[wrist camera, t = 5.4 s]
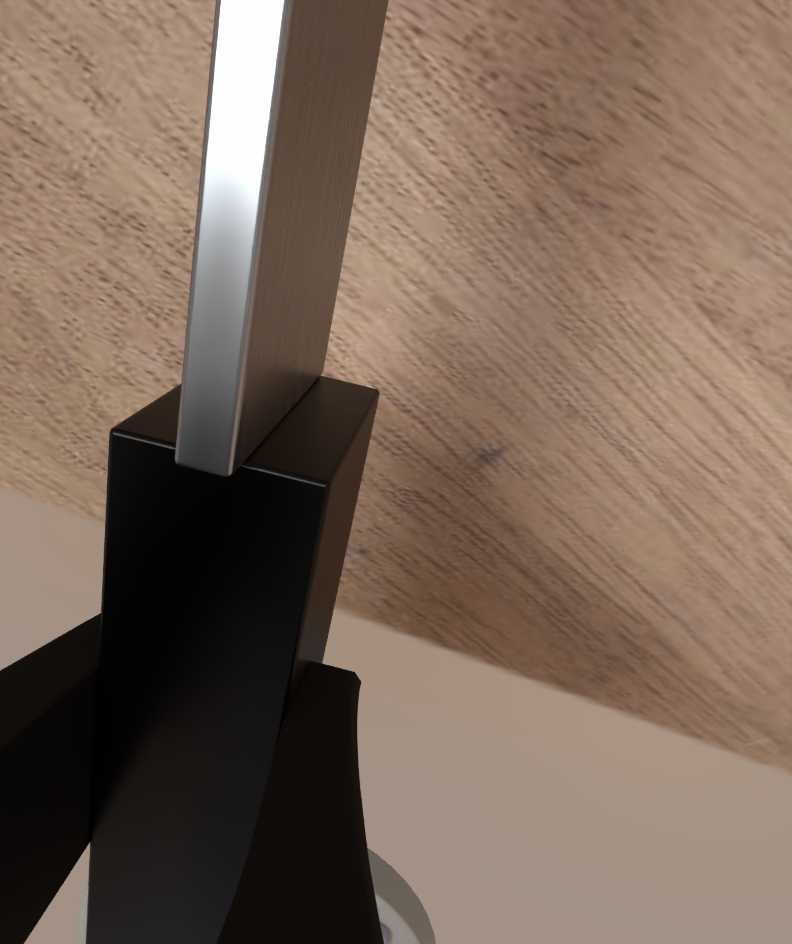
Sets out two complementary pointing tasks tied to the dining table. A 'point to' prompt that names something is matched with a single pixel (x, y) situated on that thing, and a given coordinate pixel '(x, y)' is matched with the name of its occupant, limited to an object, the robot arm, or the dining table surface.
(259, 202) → the cake knife
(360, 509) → the dining table surface
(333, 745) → the robot arm
